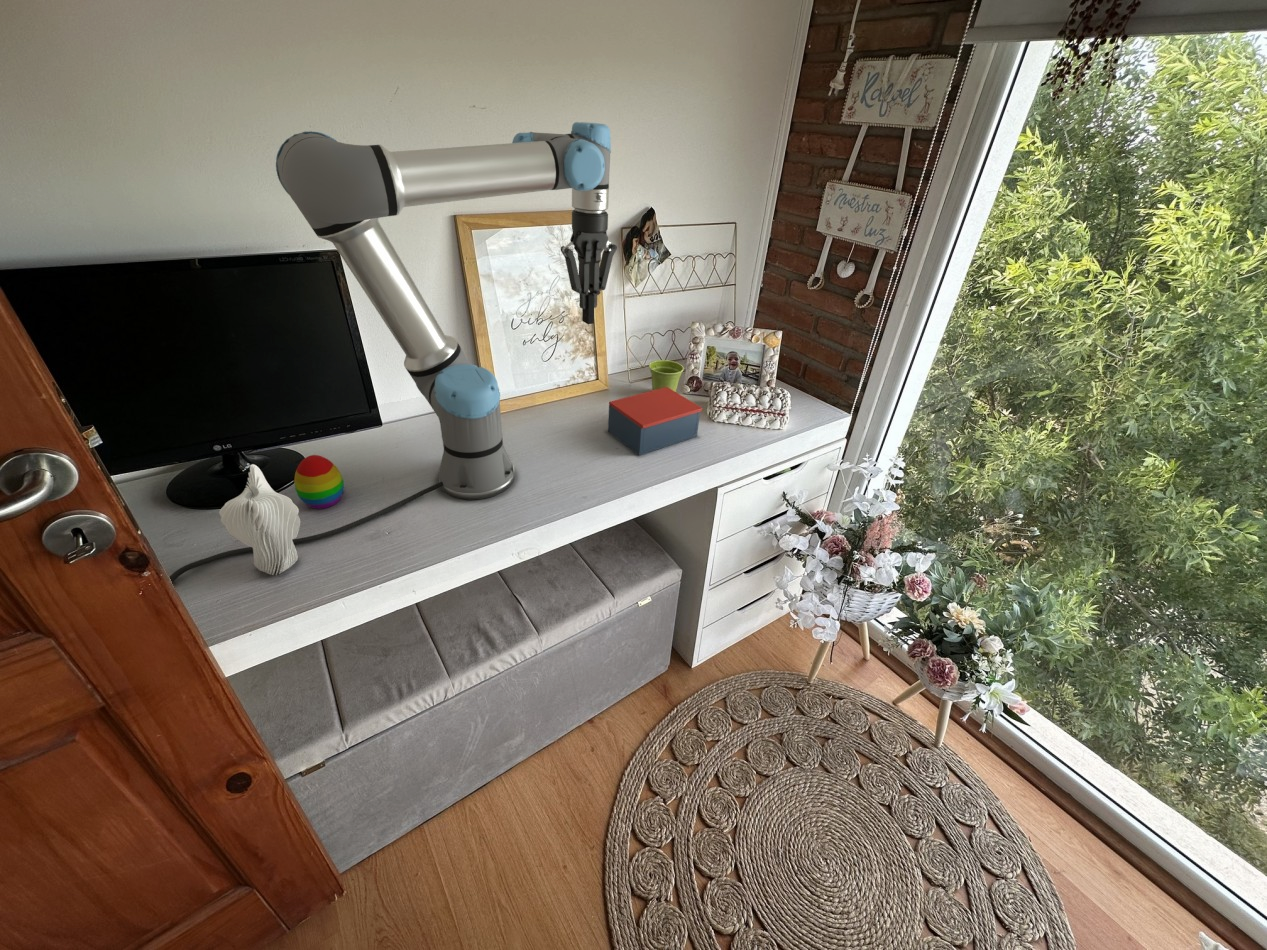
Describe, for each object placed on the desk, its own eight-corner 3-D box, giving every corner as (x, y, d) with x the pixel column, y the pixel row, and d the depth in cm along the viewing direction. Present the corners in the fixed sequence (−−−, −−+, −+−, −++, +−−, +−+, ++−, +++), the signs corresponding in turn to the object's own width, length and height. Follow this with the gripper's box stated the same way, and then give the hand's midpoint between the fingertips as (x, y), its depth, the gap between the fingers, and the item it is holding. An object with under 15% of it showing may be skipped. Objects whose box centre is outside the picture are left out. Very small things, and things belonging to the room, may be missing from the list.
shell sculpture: (278, 589, 93) (243, 498, 83) (240, 574, 95) (202, 483, 85) (319, 558, 99) (291, 470, 89) (283, 545, 101) (252, 457, 92)
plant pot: (664, 385, 167) (667, 357, 162) (687, 397, 161) (690, 368, 156) (639, 393, 161) (641, 364, 157) (662, 406, 155) (665, 376, 151)
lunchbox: (697, 436, 142) (700, 410, 138) (639, 455, 133) (641, 427, 129) (664, 415, 151) (666, 389, 147) (607, 431, 142) (608, 404, 138)
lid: (702, 411, 138) (702, 408, 138) (642, 428, 129) (642, 425, 129) (666, 389, 147) (666, 386, 147) (608, 404, 138) (608, 401, 138)
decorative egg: (291, 506, 111) (276, 462, 105) (323, 485, 117) (311, 442, 112) (325, 517, 108) (311, 472, 103) (356, 494, 115) (345, 451, 110)
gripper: (571, 214, 114) (570, 331, 126) (626, 212, 120) (620, 323, 133) (553, 208, 119) (554, 321, 132) (607, 206, 125) (603, 314, 138)
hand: (588, 322), depth 132 cm, fingers closed
